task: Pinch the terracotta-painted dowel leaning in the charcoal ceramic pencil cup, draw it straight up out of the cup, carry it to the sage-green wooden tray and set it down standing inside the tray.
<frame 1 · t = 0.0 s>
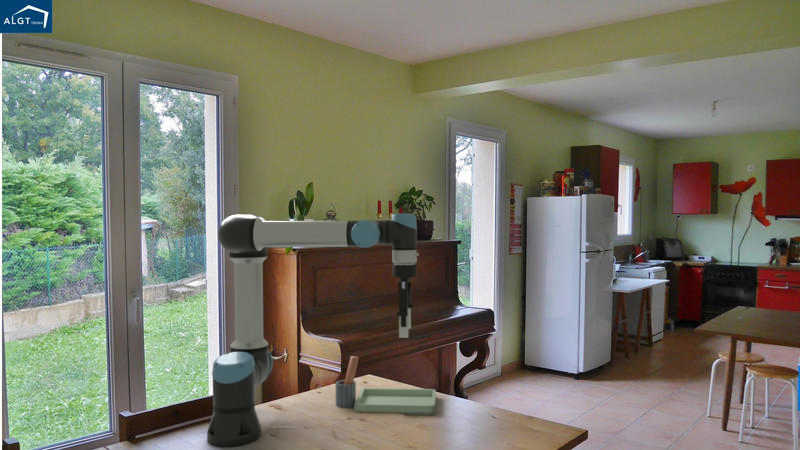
hand: (405, 333, 176), 28 cm above the table, fingers open, 13 cm apart
tray: (396, 405, 194), on the table
cup: (345, 406, 193), on the table
pin: (345, 404, 193), point 1 cm above the table, touching cup
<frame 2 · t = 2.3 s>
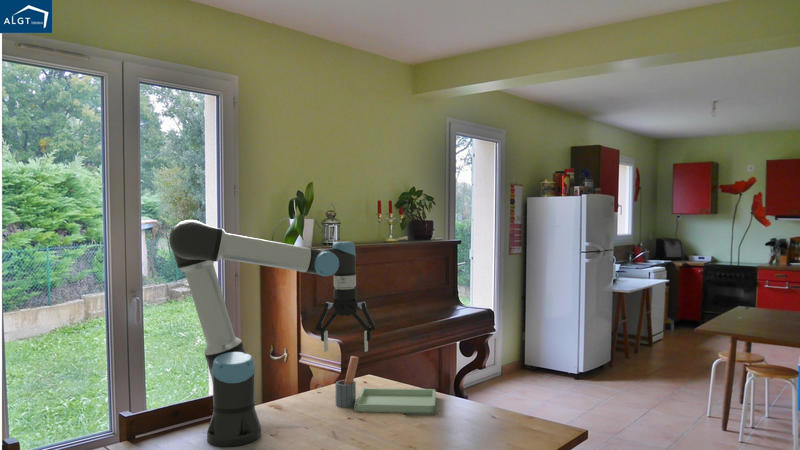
hand: (346, 350, 193), 19 cm above the table, fingers open, 13 cm apart
nothing on the table moved.
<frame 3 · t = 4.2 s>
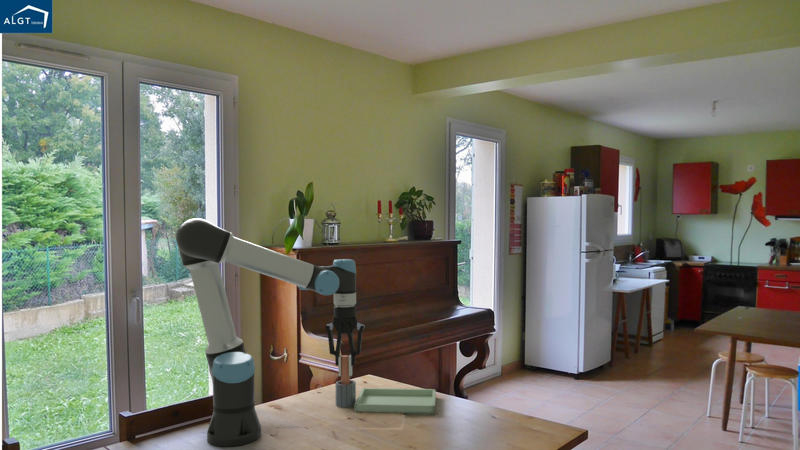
hand: (345, 375, 193), 11 cm above the table, fingers closed on pin, 3 cm apart
pin: (348, 404, 193), point 1 cm above the table, tilted 12°, touching gripper
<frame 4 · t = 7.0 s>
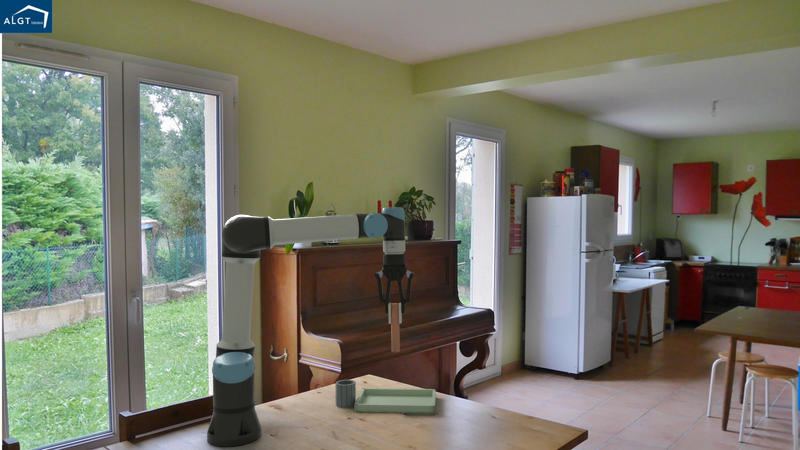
hand: (395, 322, 193), 28 cm above the table, fingers closed on pin, 3 cm apart
pin: (398, 351, 193), point 18 cm above the table, tilted 12°, touching gripper
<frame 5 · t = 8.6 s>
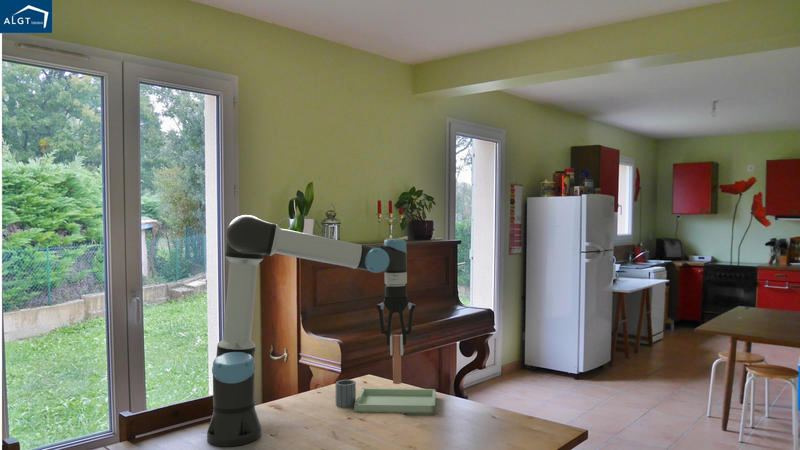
hand: (396, 354, 193), 17 cm above the table, fingers closed on pin, 3 cm apart
pin: (399, 383, 193), point 7 cm above the table, tilted 12°, touching gripper
when the fingers open (12 cm above the table, at t = 10.0 s): pin drops 2 cm, resting on tray.
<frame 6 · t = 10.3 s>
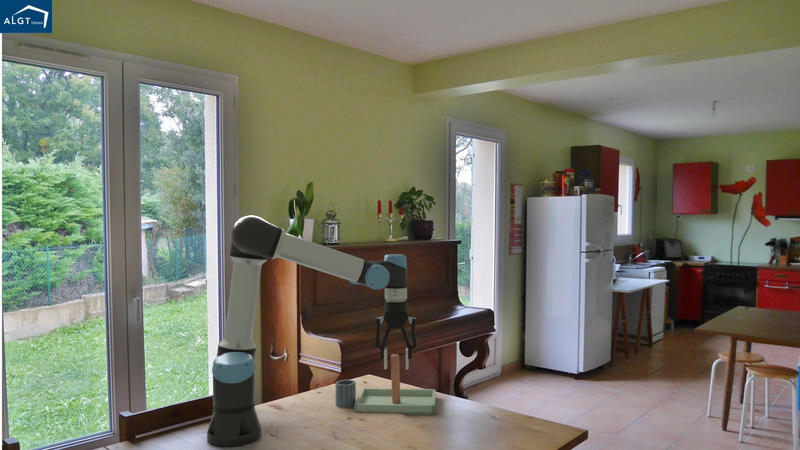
hand: (396, 368, 193), 12 cm above the table, fingers open, 7 cm apart
pin: (398, 402, 193), point 1 cm above the table, tilted 14°, touching tray
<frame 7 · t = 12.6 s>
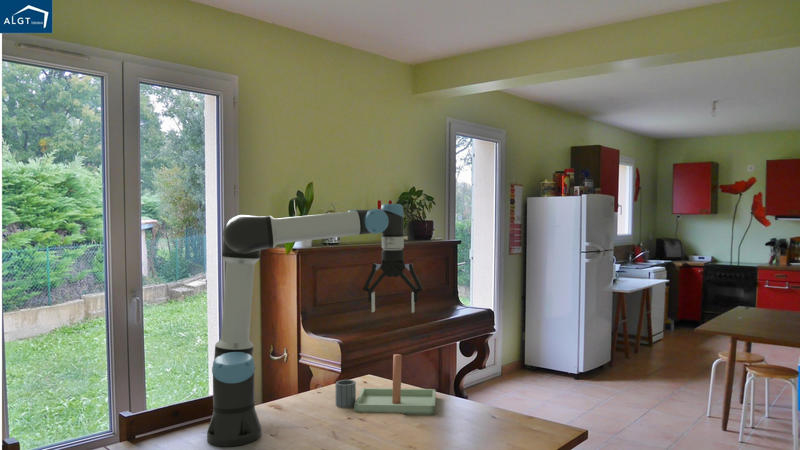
hand: (393, 311, 195), 31 cm above the table, fingers open, 13 cm apart
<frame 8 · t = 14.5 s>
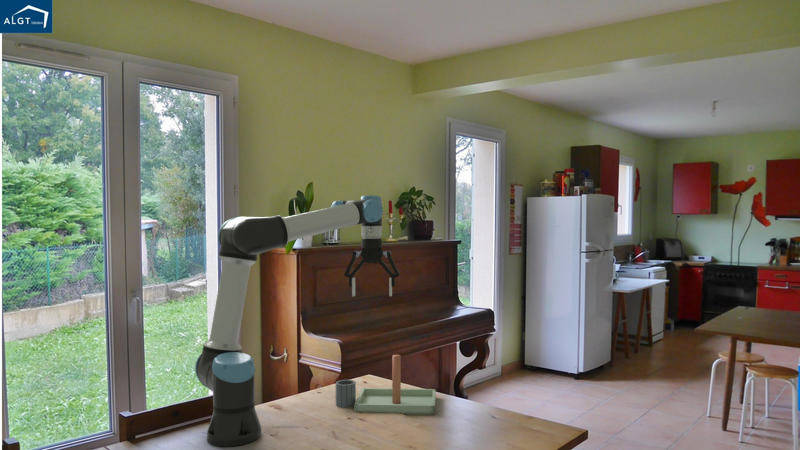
hand: (372, 295, 210), 35 cm above the table, fingers open, 13 cm apart
at the end: pin inside the target area on the tray (0.7 cm from its centre), point 0.7 cm above the tray's base; the gripper is holding nothing; pin moved 17.8 cm from its start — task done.
